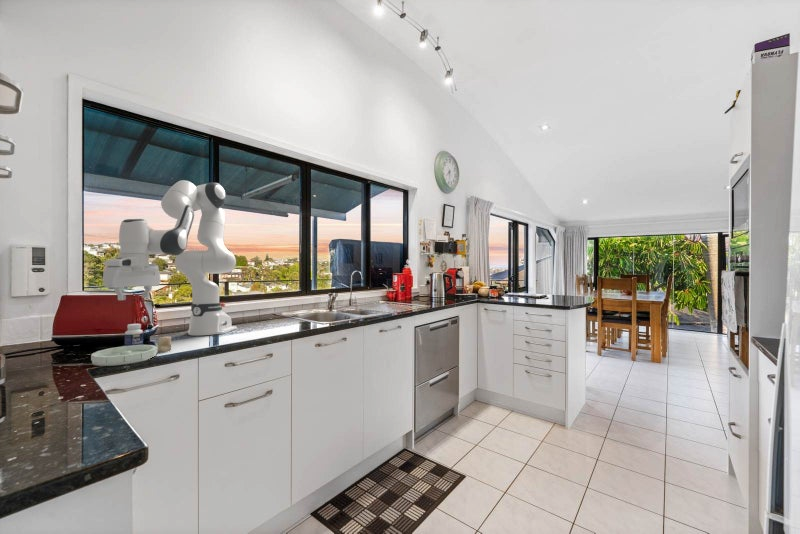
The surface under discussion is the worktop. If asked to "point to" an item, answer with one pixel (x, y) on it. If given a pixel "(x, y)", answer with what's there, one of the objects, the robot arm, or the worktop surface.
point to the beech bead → (164, 344)
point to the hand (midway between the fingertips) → (133, 299)
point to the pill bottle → (134, 335)
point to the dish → (123, 355)
